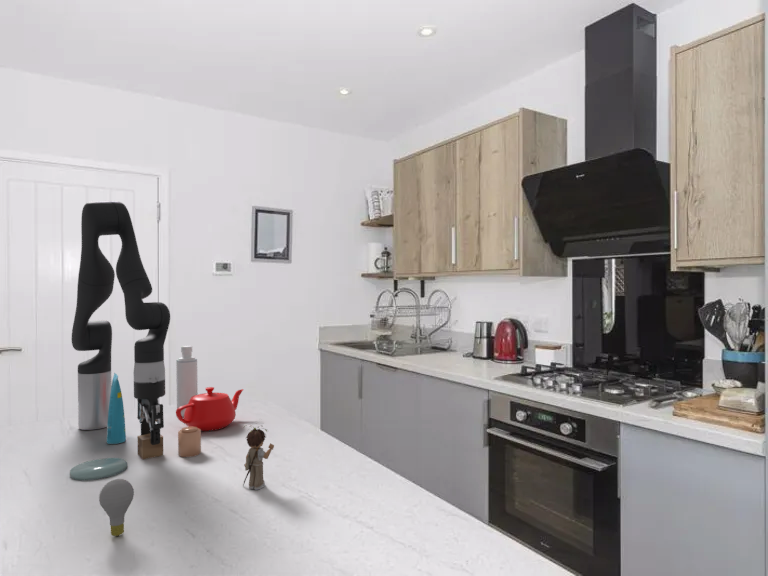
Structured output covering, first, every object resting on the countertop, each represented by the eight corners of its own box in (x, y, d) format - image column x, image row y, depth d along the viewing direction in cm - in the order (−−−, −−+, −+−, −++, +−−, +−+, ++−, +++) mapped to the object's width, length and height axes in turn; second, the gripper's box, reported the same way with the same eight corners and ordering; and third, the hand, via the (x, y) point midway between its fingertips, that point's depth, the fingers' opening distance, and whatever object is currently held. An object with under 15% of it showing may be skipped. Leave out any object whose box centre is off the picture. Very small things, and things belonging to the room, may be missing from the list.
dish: (65, 469, 124) (65, 465, 124) (120, 458, 132) (119, 454, 132) (75, 484, 115) (75, 480, 115) (133, 471, 123) (133, 467, 123)
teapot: (192, 440, 147) (192, 397, 147) (161, 431, 156) (161, 391, 156) (259, 420, 168) (259, 383, 168) (228, 413, 177) (228, 378, 176)
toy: (275, 483, 115) (275, 416, 114) (262, 492, 109) (261, 423, 109) (251, 480, 117) (251, 414, 117) (237, 489, 111) (236, 421, 111)
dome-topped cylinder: (175, 453, 136) (174, 428, 136) (196, 448, 139) (196, 424, 139) (182, 458, 131) (182, 433, 131) (204, 453, 135) (204, 428, 135)
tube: (128, 443, 144) (128, 375, 144) (109, 446, 141) (108, 377, 141) (122, 437, 150) (121, 371, 150) (103, 440, 147) (103, 373, 147)
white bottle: (172, 416, 173) (172, 342, 173) (183, 411, 179) (183, 340, 179) (191, 417, 172) (190, 342, 171) (201, 412, 178) (200, 340, 178)
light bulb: (108, 529, 94) (107, 474, 94) (139, 527, 94) (138, 473, 94) (93, 544, 88) (93, 486, 88) (126, 542, 89) (126, 485, 89)
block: (137, 454, 135) (137, 435, 135) (157, 450, 138) (157, 432, 138) (142, 459, 131) (142, 440, 131) (163, 455, 134) (163, 436, 134)
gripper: (126, 377, 137) (127, 437, 137) (142, 384, 126) (143, 450, 126) (156, 373, 142) (157, 432, 142) (173, 380, 131) (174, 443, 131)
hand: (150, 440), depth 134 cm, fingers open, 8 cm apart
